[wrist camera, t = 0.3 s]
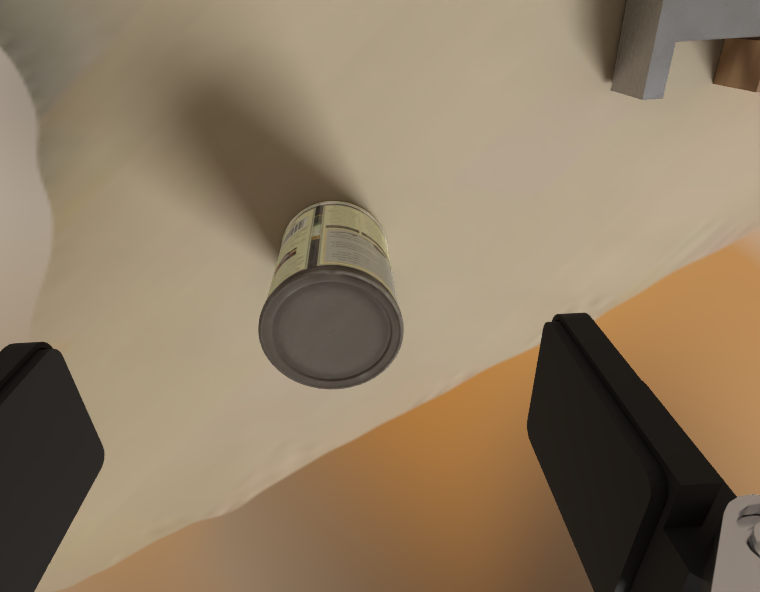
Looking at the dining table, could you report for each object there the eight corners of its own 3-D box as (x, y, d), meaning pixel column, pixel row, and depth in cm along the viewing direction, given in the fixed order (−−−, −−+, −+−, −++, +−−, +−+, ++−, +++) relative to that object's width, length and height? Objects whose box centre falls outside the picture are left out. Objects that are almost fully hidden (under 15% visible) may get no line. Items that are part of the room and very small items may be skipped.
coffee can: (370, 307, 50) (377, 402, 38) (271, 282, 48) (245, 374, 36) (404, 217, 45) (424, 292, 33) (295, 185, 43) (275, 253, 31)
